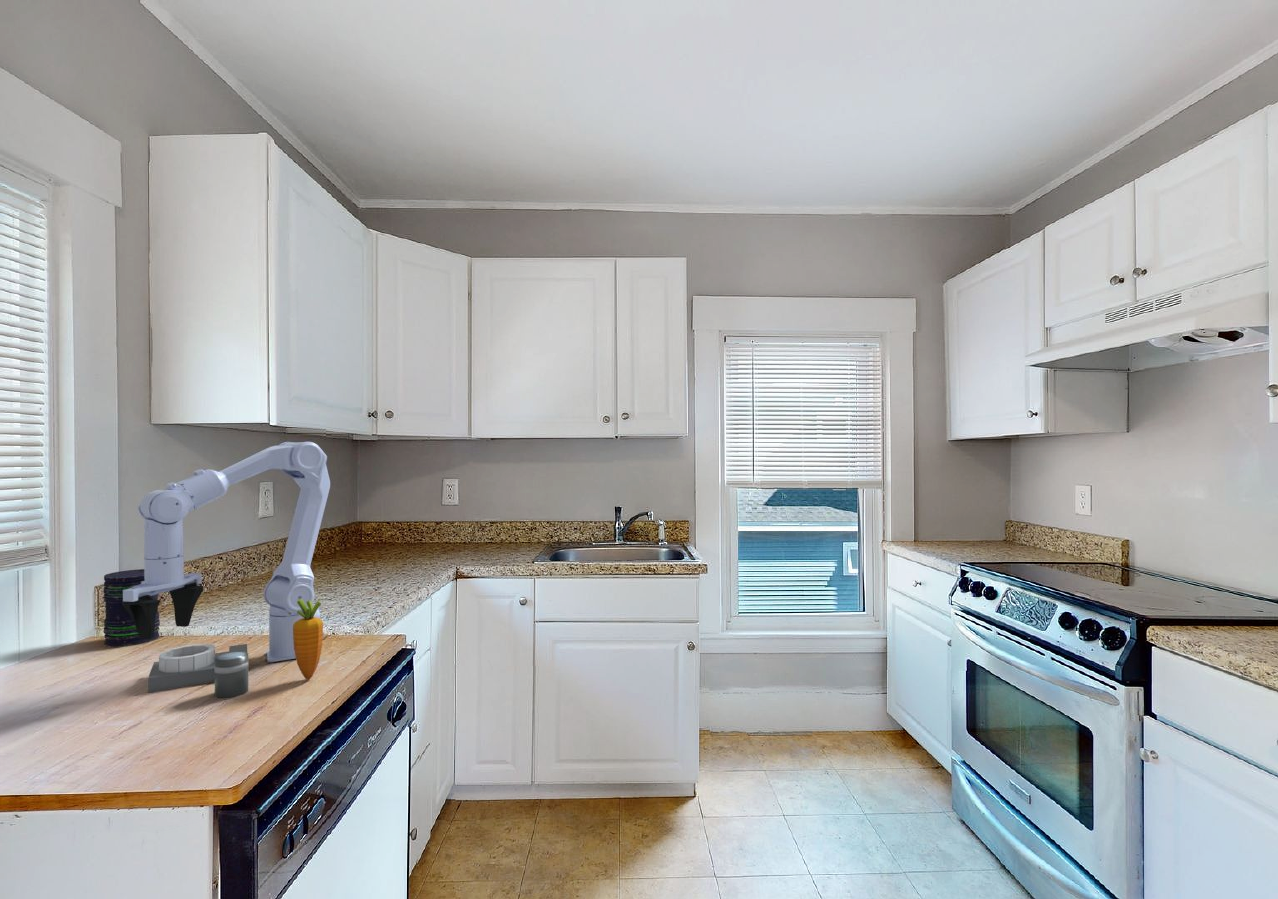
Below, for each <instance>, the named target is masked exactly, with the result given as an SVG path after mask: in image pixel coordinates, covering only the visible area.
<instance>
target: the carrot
mask: <svg viewBox="0 0 1278 899" xmlns="http://www.w3.org/2000/svg"><path fill="white" fill-rule="evenodd" d="M297 603H298V605H299V606H300V608H301V609H302V611H303V612H302V611H297V613H298V614H300V615H301V616H302V617H304V618H301V619H299V620H298V621H296V622H295V623H294V625H293V642H294V651H295V656H296V658H295V659H296V663H297V666H298V669H299V671H300V672H301V674H302V675H303V677H304V679H306V680H307V681H309V680H311V679H312V677H313V676H314V674H315V672H316V670H317V667H318V665H319V662H320V659H321V653H322V648H323V637H324V622H323V620H322V619H321V618H320V619H319V618H317V617H313V616H314V615H315V613H316V611H317V609H319V607H320V606H321V604H322V602H321V601H319V600H317V602H316V603H315V604H314V606H313V603H311V601H307V605H308V607H306V605H305V603H304V601H303V600H302V599H299V600H298V601H297Z"/></svg>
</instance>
